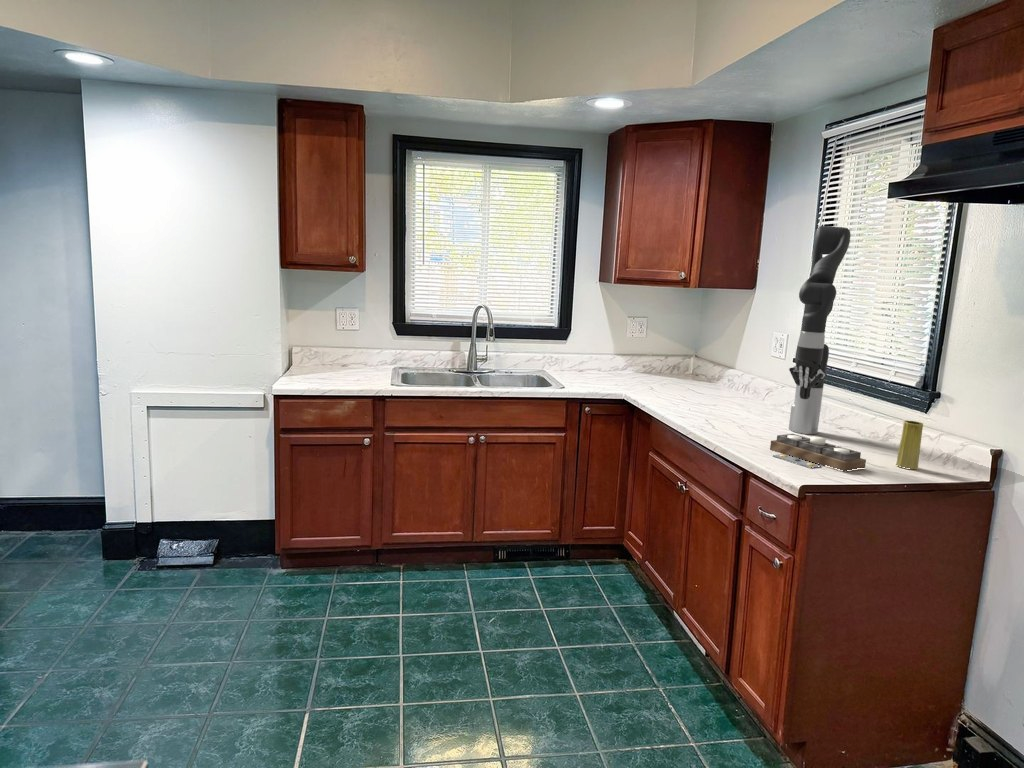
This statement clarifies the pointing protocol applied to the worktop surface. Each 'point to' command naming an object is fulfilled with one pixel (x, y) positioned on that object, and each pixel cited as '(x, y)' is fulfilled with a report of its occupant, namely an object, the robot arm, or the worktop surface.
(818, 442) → the button middle
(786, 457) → the pattern card
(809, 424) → the robot arm
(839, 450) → the button right
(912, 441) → the vase
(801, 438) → the button left
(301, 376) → the worktop surface
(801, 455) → the button board
